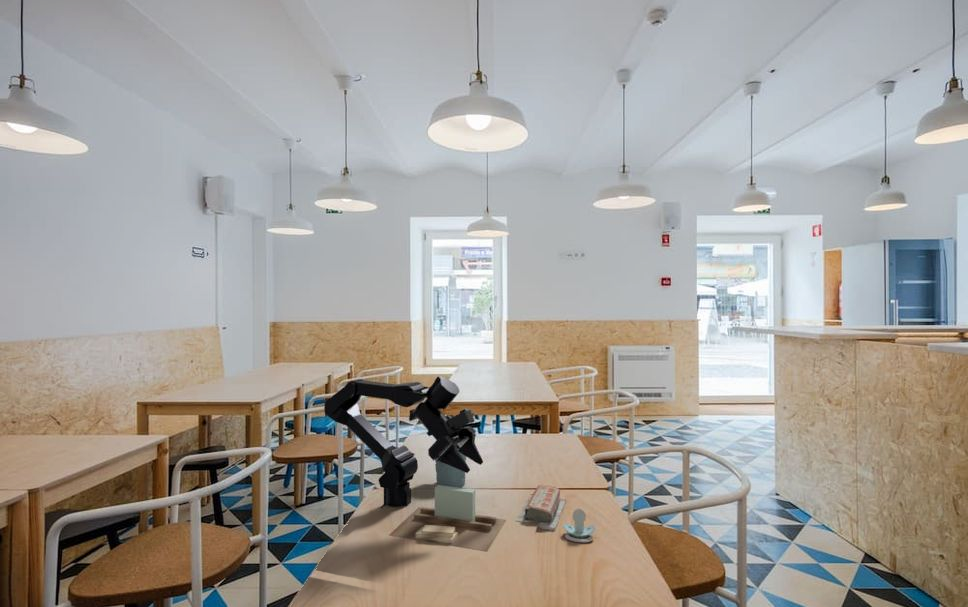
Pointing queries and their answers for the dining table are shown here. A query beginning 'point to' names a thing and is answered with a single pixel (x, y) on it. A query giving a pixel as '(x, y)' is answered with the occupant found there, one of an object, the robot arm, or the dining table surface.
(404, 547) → the dining table surface
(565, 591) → the dining table surface
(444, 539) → the offcut lower
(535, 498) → the packaged product
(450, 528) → the offcut upper
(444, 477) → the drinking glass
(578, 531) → the pacifier
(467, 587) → the dining table surface
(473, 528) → the rack
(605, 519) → the dining table surface
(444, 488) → the green board
